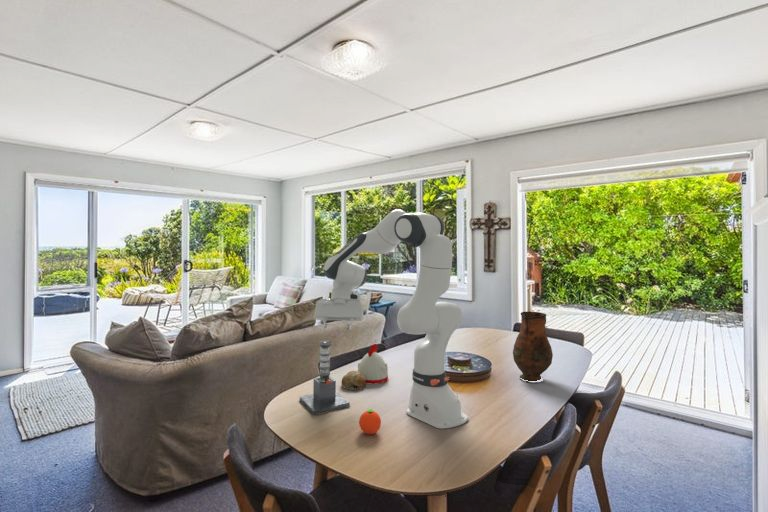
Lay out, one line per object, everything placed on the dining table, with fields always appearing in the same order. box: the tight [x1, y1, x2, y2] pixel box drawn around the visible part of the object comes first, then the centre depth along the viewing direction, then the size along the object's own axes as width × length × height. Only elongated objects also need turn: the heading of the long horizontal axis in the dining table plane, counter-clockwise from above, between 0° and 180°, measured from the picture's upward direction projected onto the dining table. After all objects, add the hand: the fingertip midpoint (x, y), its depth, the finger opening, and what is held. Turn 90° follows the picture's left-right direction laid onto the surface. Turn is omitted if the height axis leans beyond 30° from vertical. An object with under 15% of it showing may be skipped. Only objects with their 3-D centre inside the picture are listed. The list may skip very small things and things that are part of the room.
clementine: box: [358, 408, 382, 435], centre depth 121 cm, size 8×7×7 cm
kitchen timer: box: [357, 343, 389, 385], centre depth 169 cm, size 14×14×15 cm
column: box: [318, 340, 332, 383], centre depth 141 cm, size 5×5×17 cm
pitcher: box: [512, 311, 554, 381], centre depth 172 cm, size 17×21×30 cm
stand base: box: [299, 375, 351, 416], centre depth 142 cm, size 14×14×10 cm
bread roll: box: [341, 370, 366, 391], centre depth 160 cm, size 10×10×8 cm
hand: (337, 329), depth 154 cm, fingers open, 8 cm apart
